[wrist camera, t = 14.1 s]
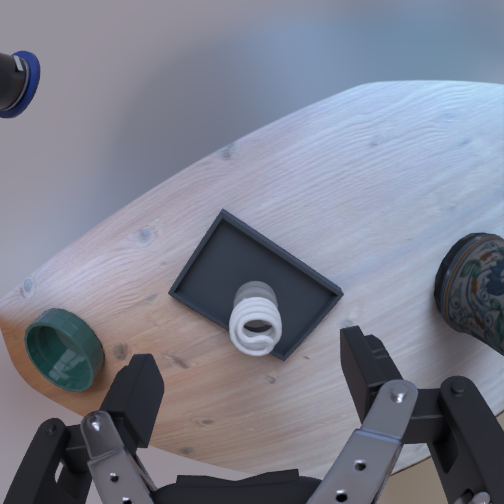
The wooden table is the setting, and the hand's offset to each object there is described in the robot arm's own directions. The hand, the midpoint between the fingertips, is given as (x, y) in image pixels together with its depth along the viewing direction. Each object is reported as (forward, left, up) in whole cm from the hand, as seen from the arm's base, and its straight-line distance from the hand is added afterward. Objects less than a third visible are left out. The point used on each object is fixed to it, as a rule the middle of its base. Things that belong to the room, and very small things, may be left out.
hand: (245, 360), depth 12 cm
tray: (+6, -8, -28) cm, 30 cm away
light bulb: (+6, -8, -28) cm, 29 cm away
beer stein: (+34, +14, -28) cm, 46 cm away
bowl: (-14, -36, -28) cm, 48 cm away
